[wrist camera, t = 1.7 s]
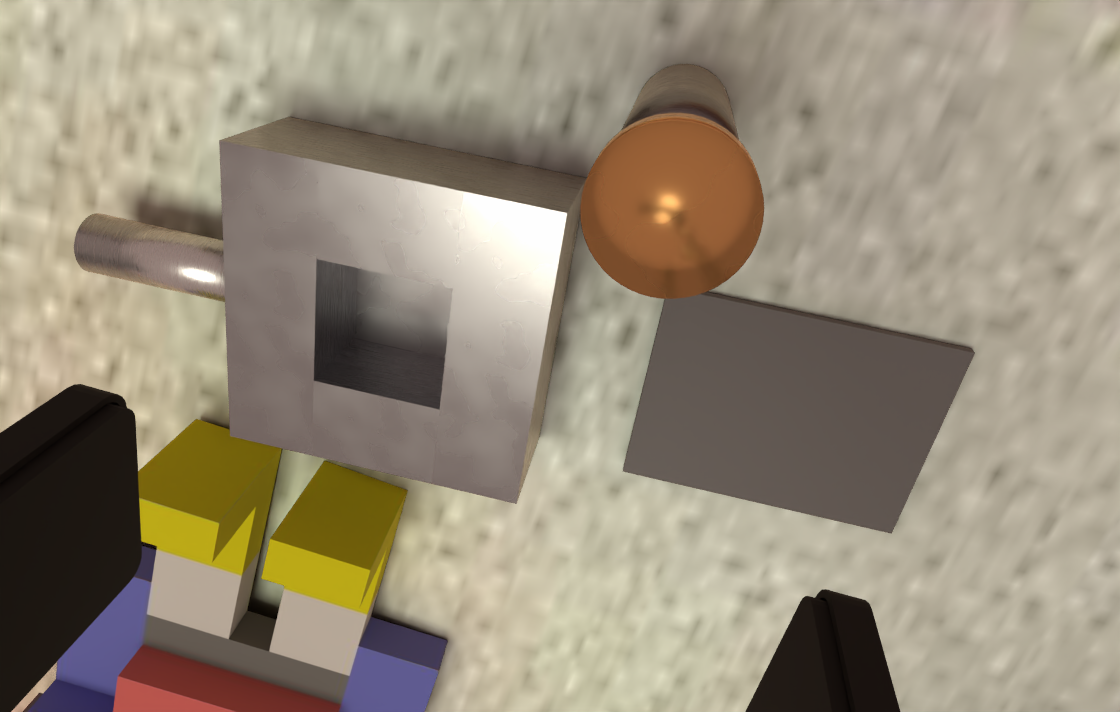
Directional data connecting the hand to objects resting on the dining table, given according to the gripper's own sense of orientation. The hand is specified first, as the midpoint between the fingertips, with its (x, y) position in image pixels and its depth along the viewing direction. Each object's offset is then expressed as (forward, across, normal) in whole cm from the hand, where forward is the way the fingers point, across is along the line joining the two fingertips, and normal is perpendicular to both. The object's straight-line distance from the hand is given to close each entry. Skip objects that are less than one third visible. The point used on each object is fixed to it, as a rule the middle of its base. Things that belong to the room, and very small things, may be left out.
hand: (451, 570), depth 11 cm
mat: (+22, -10, +8) cm, 25 cm away
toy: (+22, +11, +31) cm, 40 cm away
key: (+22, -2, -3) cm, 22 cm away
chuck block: (+22, +10, +6) cm, 25 cm away
